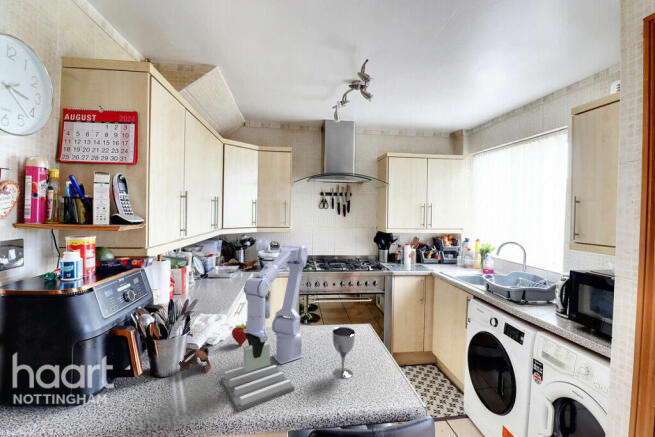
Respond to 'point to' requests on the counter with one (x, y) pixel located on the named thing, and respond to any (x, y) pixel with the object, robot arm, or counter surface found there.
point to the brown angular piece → (196, 359)
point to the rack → (255, 385)
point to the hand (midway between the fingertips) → (255, 355)
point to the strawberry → (239, 334)
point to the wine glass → (343, 349)
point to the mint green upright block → (258, 362)
